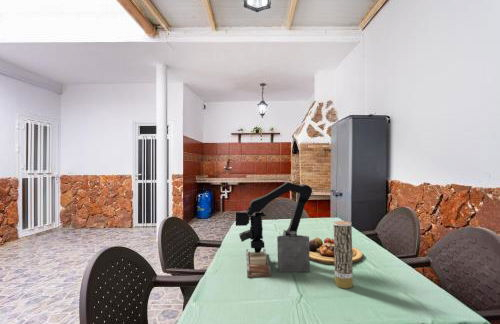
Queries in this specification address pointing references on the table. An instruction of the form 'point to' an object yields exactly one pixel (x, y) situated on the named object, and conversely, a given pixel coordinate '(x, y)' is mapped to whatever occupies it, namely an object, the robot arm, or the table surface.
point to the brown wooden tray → (258, 267)
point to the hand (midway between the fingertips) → (257, 257)
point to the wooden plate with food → (328, 251)
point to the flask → (293, 253)
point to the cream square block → (257, 258)
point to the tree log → (343, 254)
